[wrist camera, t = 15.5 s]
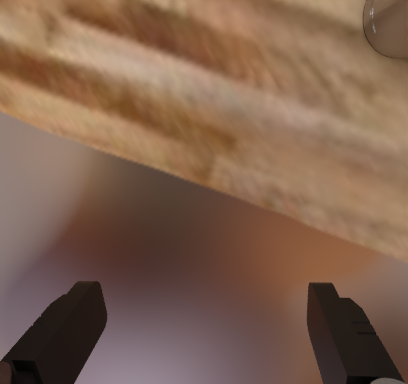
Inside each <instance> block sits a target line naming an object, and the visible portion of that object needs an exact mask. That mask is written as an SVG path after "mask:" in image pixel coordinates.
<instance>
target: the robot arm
mask: <svg viewBox="0 0 408 384" xmlns="http://www.w3.org/2000/svg"><path fill="white" fill-rule="evenodd" d="M363 26H364V30H365V35H366V37H367V39H368V41H369V43H370V44H371V45H372V46H373V48H374V49H375V50H377V51H378V52H380V53H381V54H383V55H385V56H388V57H392V58H407V57H408V0H367V2H366V4H365V9H364V15H363ZM106 322H107V310H106V306H105V302H104V298H103V294H102V289H101V285H100V283H99V282H98V281H78V282H77V283H76V284H75V285H74V286H73V287H72V288H71V289H70V291H69V292H68V293H67V294H64V295H62V296H61V297H59V298H58V299H57V300H55V301H54V302H52V303H51V304H50V305H49V306H48V307H47V308H46V310H45V311H44V312H43V313H42V314H41V317H39V318H38V319H37V320H36V321H35V322H34V324H33V326H31V327H30V328H29V329H28V330H27V331H26V332H25V334H24V335H23V336H22V337H21V338H20V339H19V340H18V342H17V343H16V344H15V345H14V346H13V347H12V348H11V350H10V351H9V352H8V353H7V354H6V355H5V356H4V358H3V359H2V360H1V361H0V384H74V383H75V381H76V379H77V377H78V375H79V374H80V372H81V370H82V368H83V367H84V365H85V363H86V361H87V359H88V357H89V356H90V354H91V352H92V350H93V348H94V347H95V345H96V343H97V341H98V340H99V338H100V336H101V334H102V332H103V331H104V328H105V326H106ZM307 326H308V332H309V336H310V340H311V343H312V347H313V350H314V354H315V357H316V360H317V364H318V367H319V370H320V374H321V377H322V381H323V384H406V383H405V382H404V380H403V379H402V377H401V375H400V373H399V372H398V370H397V368H396V366H395V365H394V363H393V361H392V360H391V358H390V356H389V354H388V353H387V351H386V349H385V347H384V346H383V344H382V342H381V341H380V339H379V337H378V336H377V335H376V332H375V330H374V328H373V326H372V325H371V324H370V321H369V319H368V318H367V316H366V314H365V313H364V311H363V309H362V308H361V307H360V306H358V305H357V304H356V303H355V302H354V301H353V300H351V299H350V298H340V297H339V295H338V294H337V291H336V289H335V287H334V285H333V284H332V283H309V287H308V303H307Z"/></svg>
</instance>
